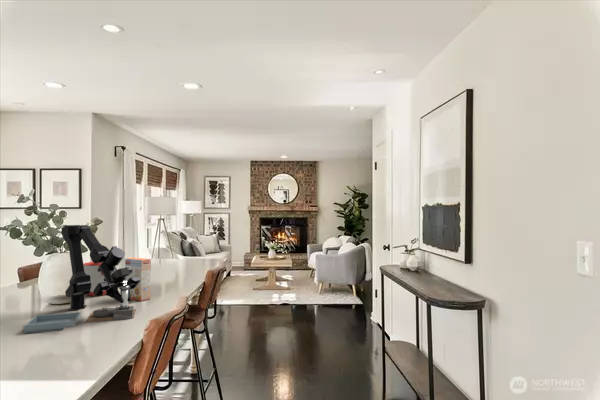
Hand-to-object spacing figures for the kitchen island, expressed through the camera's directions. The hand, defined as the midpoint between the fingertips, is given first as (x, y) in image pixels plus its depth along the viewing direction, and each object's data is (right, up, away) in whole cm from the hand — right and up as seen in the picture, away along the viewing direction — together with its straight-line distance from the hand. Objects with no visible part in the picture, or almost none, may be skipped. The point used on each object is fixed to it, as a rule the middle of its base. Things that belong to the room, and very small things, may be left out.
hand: (126, 301), depth 158 cm
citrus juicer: (-36, -9, +47) cm, 60 cm away
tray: (-24, -7, -9) cm, 27 cm away
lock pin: (-1, -7, +1) cm, 7 cm away
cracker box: (-11, -9, +37) cm, 40 cm away
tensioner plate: (-7, -8, +3) cm, 11 cm away
